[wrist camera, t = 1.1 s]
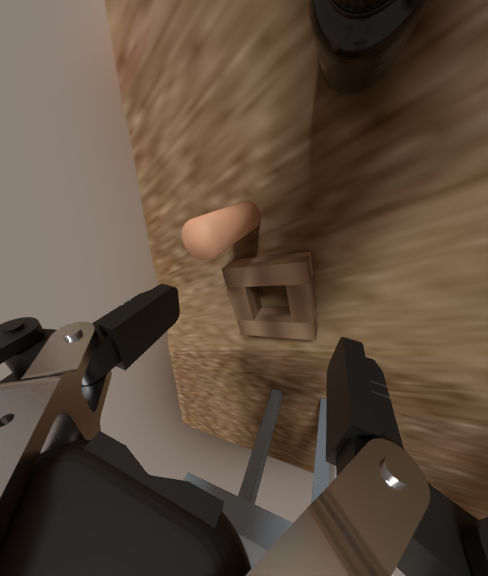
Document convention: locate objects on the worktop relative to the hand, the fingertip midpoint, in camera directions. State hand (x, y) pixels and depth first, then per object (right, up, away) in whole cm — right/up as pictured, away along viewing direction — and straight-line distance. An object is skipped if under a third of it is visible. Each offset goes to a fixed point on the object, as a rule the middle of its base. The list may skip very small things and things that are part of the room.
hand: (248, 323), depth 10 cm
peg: (0, +12, +19) cm, 22 cm away
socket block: (+5, +1, +23) cm, 23 cm away
